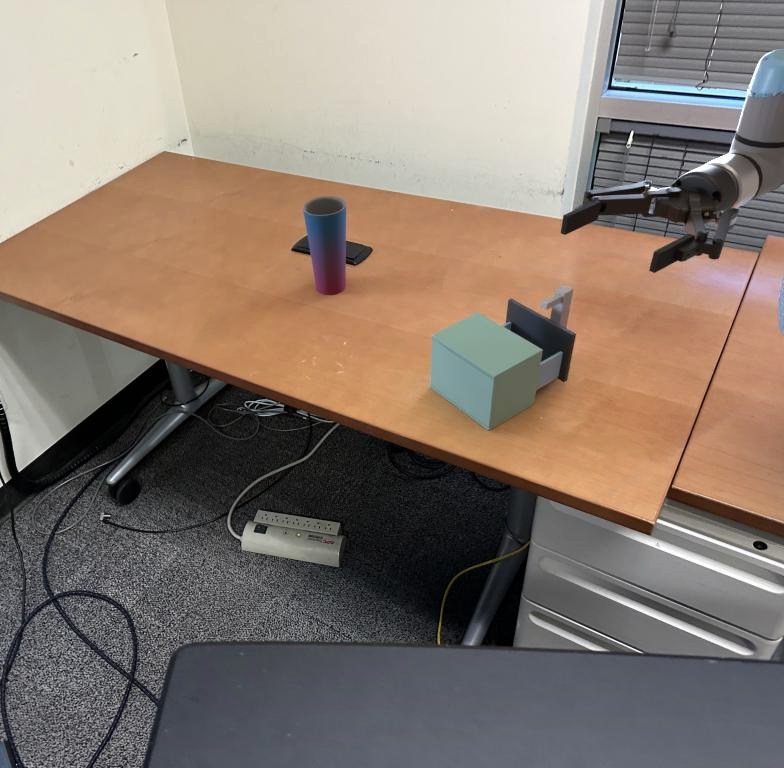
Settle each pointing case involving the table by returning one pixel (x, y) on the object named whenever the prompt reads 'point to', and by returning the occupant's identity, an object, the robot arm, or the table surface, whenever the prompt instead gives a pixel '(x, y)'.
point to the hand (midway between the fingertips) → (606, 242)
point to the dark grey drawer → (546, 333)
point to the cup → (327, 242)
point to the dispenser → (484, 369)
